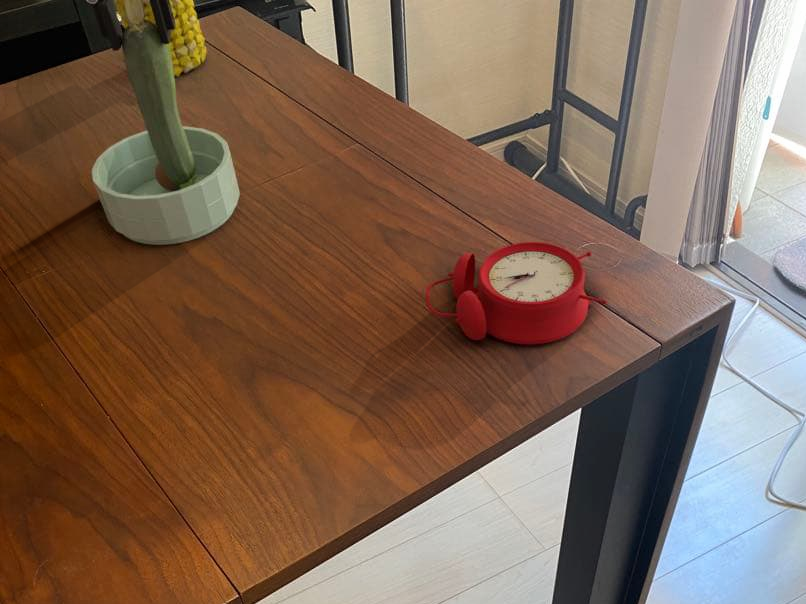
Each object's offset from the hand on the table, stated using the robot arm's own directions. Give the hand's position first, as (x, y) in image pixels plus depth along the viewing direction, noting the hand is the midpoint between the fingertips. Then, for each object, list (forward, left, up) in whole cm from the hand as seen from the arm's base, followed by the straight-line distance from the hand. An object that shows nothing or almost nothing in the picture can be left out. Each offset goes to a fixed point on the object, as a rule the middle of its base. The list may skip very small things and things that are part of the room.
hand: (142, 39), depth 79 cm
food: (-27, +22, -17) cm, 39 cm away
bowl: (0, -2, -16) cm, 17 cm away
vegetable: (0, 0, -15) cm, 15 cm away
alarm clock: (+40, +3, -17) cm, 43 cm away
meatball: (-2, 0, -14) cm, 14 cm away
